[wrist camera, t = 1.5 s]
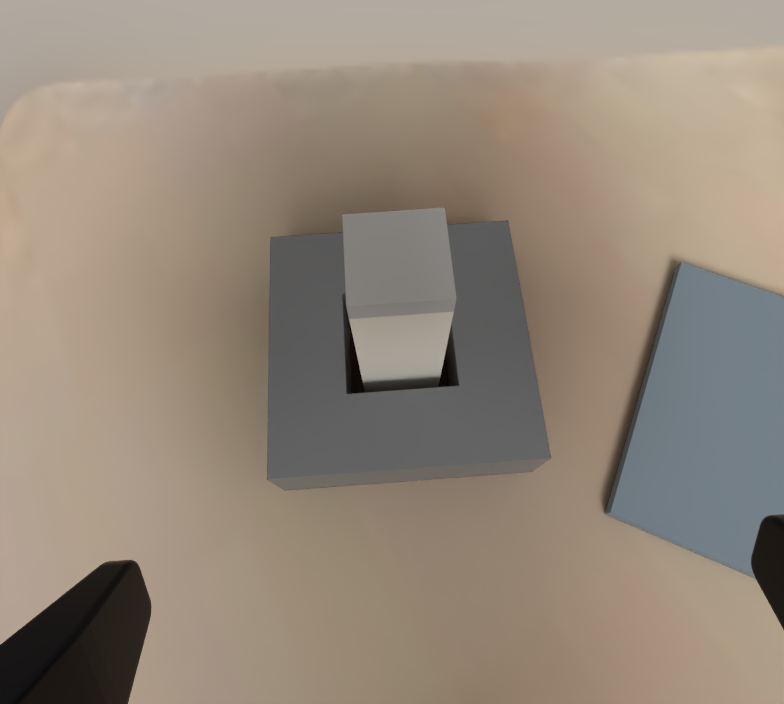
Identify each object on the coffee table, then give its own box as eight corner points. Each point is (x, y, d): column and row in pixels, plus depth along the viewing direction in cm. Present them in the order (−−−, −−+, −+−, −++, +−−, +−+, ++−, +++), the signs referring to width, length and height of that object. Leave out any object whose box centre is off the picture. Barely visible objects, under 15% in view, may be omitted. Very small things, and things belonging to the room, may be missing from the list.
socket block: (531, 471, 22) (551, 457, 19) (284, 490, 22) (267, 479, 19) (496, 258, 25) (507, 220, 23) (285, 273, 25) (270, 237, 22)
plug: (436, 395, 23) (456, 298, 15) (366, 400, 23) (346, 306, 15) (429, 331, 24) (444, 207, 16) (363, 336, 24) (342, 214, 16)
